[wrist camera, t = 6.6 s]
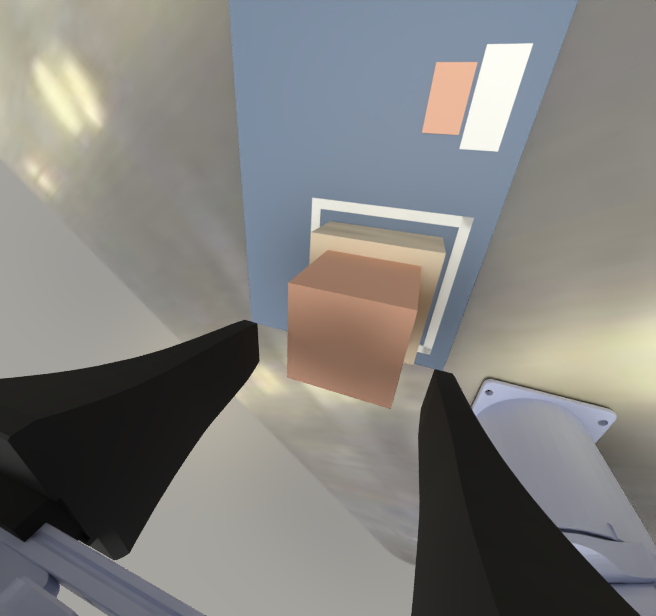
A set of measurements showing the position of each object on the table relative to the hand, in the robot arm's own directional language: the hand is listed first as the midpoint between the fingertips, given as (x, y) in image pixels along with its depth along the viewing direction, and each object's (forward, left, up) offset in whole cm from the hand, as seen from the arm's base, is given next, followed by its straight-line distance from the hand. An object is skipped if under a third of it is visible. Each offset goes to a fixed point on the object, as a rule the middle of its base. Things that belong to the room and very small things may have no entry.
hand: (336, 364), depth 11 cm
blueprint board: (+4, +2, -10) cm, 11 cm away
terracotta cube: (0, 0, -6) cm, 6 cm away
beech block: (0, 0, -9) cm, 9 cm away
